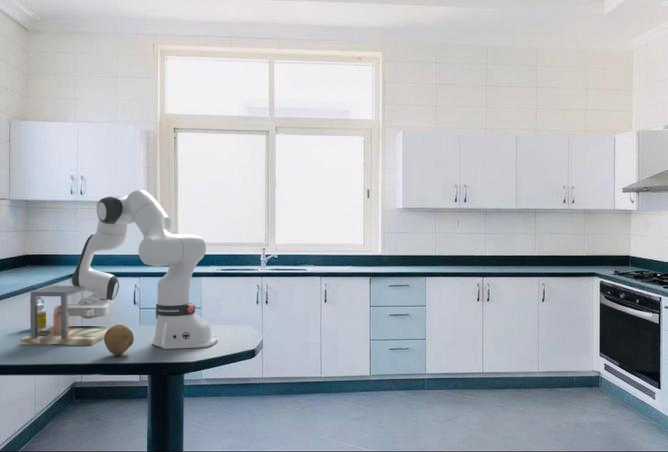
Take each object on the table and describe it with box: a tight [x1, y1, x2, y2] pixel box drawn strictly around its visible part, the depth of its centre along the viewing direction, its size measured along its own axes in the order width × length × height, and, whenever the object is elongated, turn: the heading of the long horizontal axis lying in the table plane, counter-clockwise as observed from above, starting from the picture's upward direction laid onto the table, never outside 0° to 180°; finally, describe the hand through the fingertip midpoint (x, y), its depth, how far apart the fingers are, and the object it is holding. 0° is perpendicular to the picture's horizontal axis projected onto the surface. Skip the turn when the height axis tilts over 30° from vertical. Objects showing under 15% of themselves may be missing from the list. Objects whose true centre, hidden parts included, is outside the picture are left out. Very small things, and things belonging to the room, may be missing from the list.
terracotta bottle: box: [52, 305, 70, 335], centre depth 188 cm, size 5×5×10 cm
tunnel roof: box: [30, 285, 85, 339], centre depth 188 cm, size 12×15×16 cm
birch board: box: [20, 327, 109, 346], centre depth 188 cm, size 25×16×2 cm, turn 91°
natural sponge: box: [103, 324, 135, 357], centre depth 169 cm, size 9×9×10 cm
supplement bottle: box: [29, 302, 47, 331], centre depth 204 cm, size 5×5×10 cm
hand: (73, 314), depth 197 cm, fingers open, 8 cm apart
